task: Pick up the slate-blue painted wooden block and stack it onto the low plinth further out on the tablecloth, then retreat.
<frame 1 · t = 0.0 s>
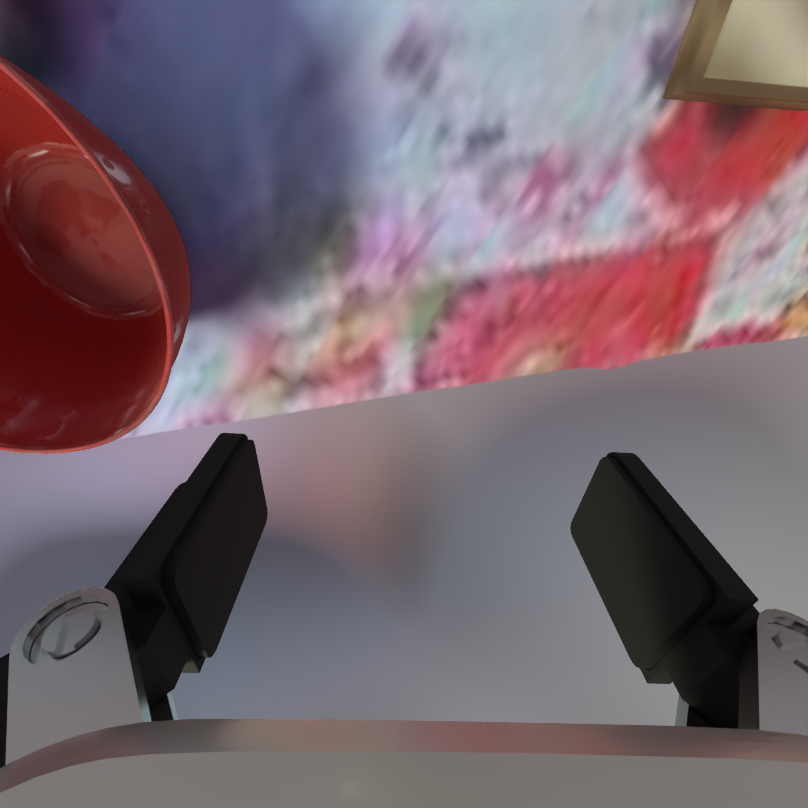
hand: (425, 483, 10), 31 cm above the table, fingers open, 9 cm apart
mixing bowl: (102, 239, 35), on the table
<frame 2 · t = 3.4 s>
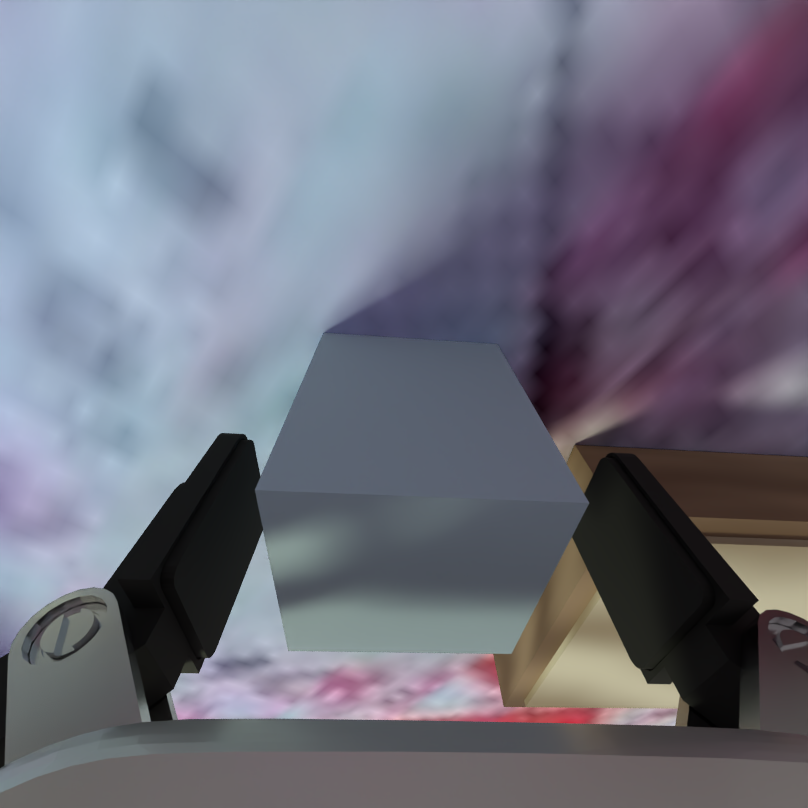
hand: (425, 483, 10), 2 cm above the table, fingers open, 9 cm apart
block: (404, 409, 12), on the table
plinth: (649, 569, 17), on the table
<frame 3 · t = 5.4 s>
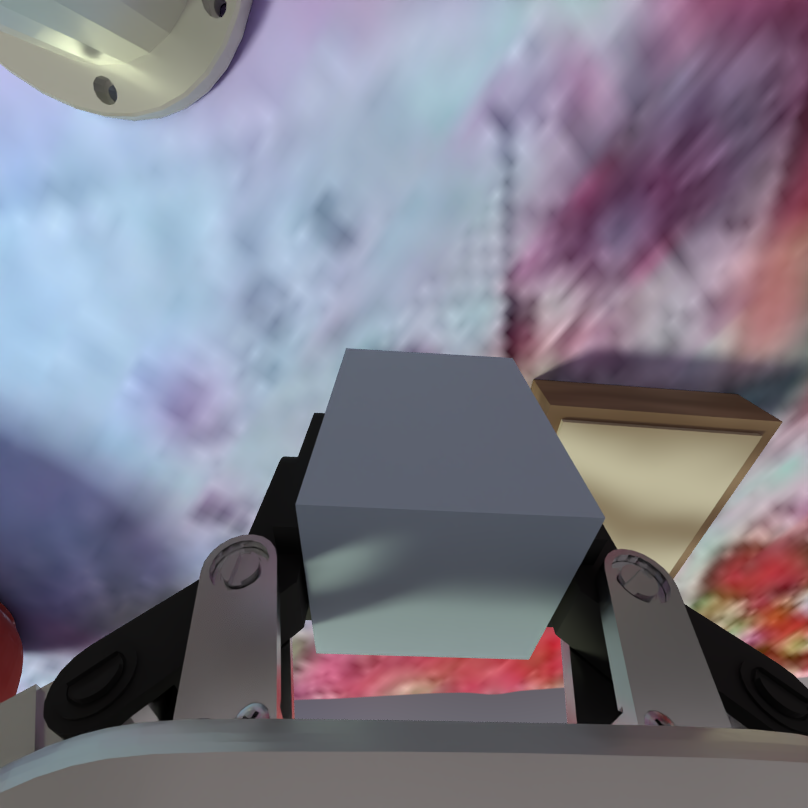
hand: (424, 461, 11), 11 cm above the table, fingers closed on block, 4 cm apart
block: (422, 421, 12), point 9 cm above the table, touching gripper
plinth: (596, 478, 25), on the table
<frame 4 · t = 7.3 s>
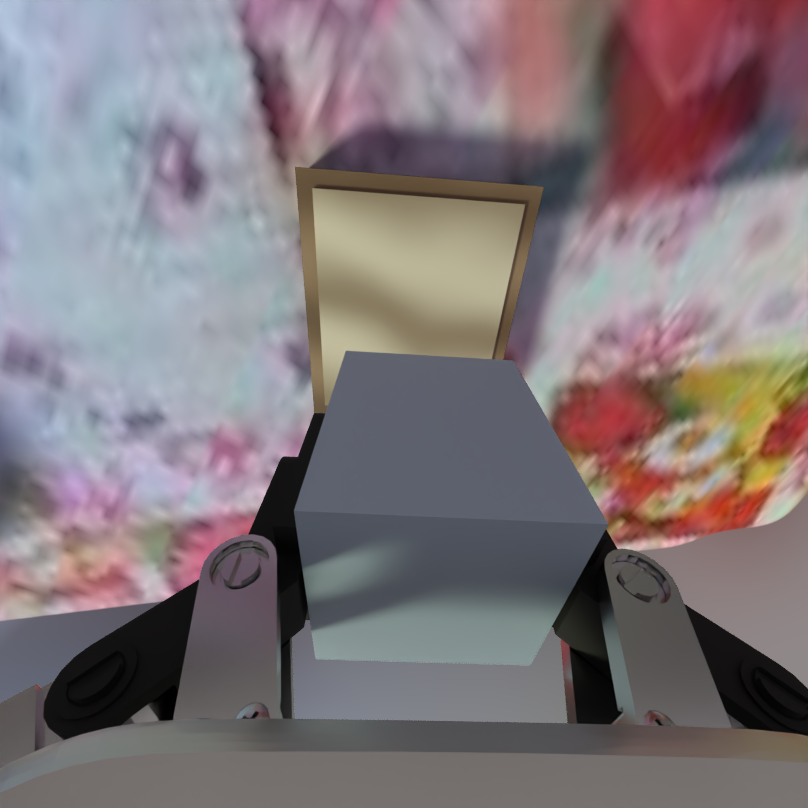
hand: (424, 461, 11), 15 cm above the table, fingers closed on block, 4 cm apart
block: (422, 423, 12), point 14 cm above the table, touching gripper
plinth: (409, 302, 24), on the table
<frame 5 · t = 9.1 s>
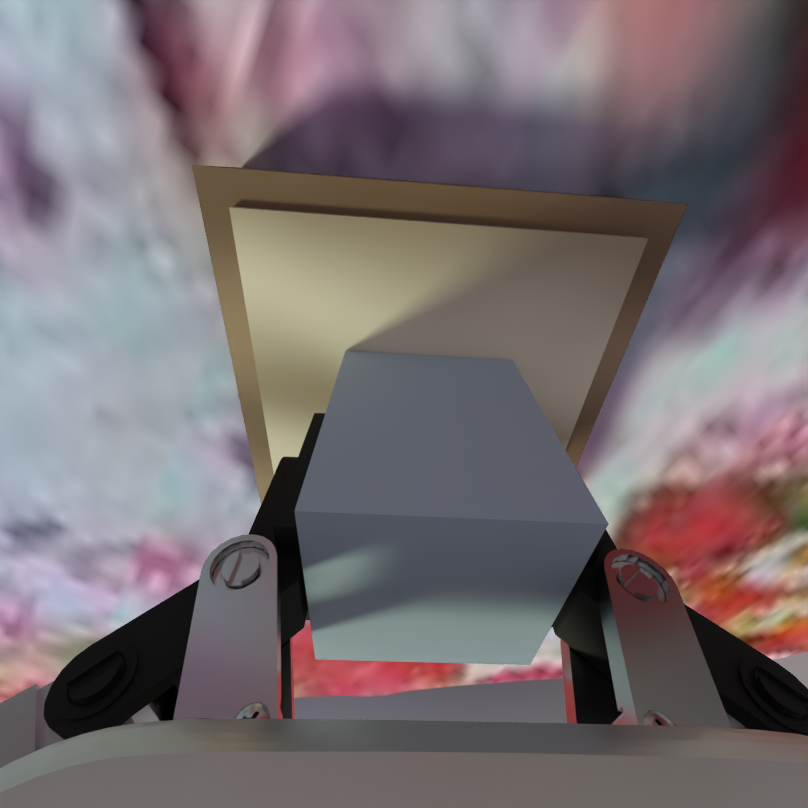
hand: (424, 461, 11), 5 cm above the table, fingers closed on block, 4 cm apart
block: (422, 423, 12), point 3 cm above the table, touching gripper, plinth
plinth: (417, 381, 15), on the table
when the fingers open (5 cm above the table, at t = 9.8 s): block stays where it is, resting on plinth.
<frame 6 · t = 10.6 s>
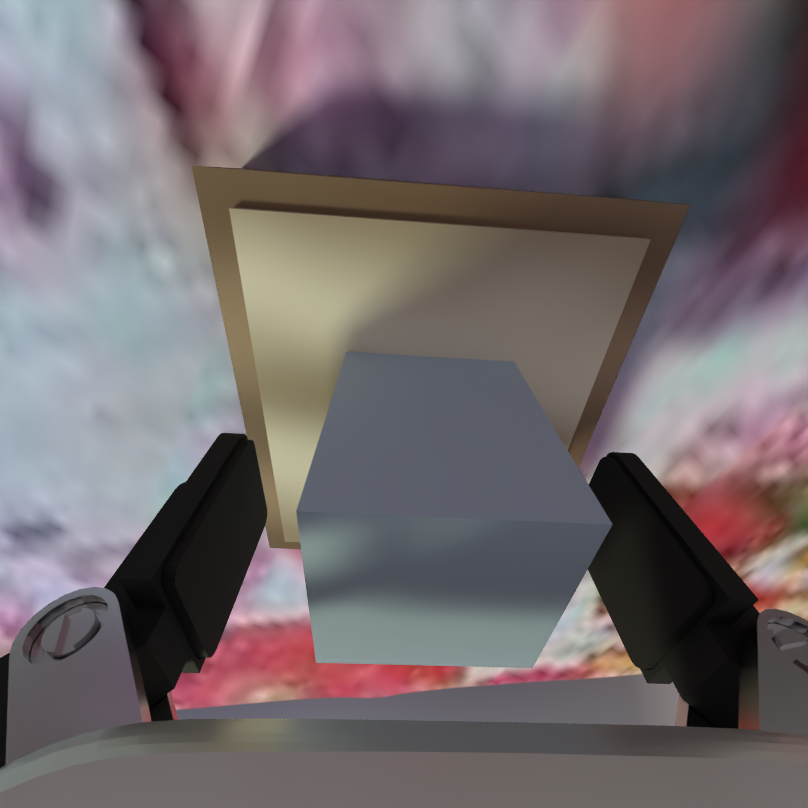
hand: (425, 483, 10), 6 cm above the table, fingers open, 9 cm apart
block: (422, 425, 12), point 3 cm above the table, touching plinth
plinth: (417, 382, 15), on the table
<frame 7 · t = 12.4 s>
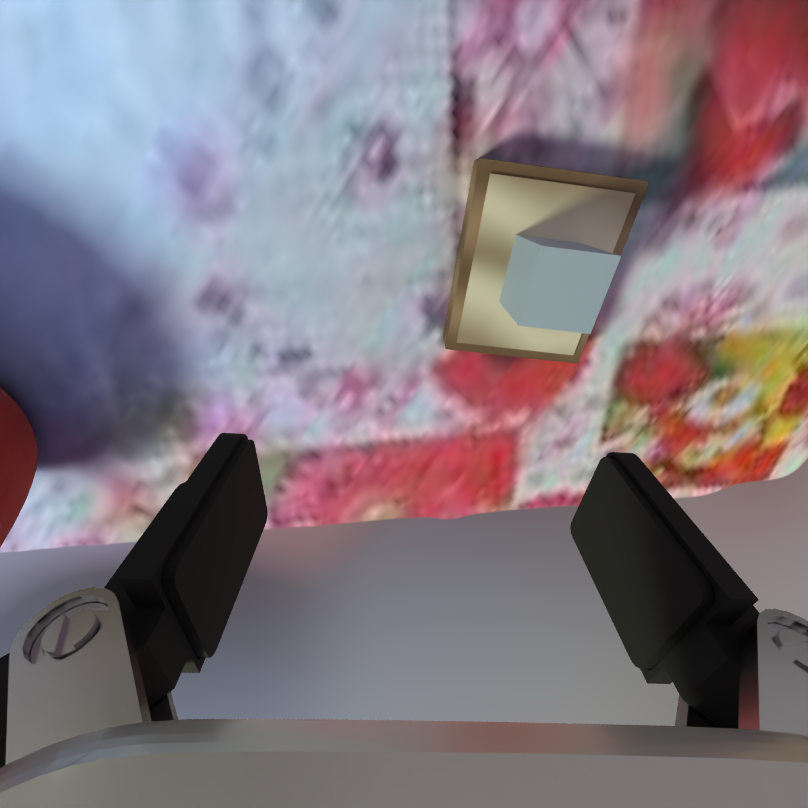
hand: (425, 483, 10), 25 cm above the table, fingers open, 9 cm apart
block: (538, 273, 28), point 3 cm above the table, touching plinth
plinth: (525, 267, 31), on the table
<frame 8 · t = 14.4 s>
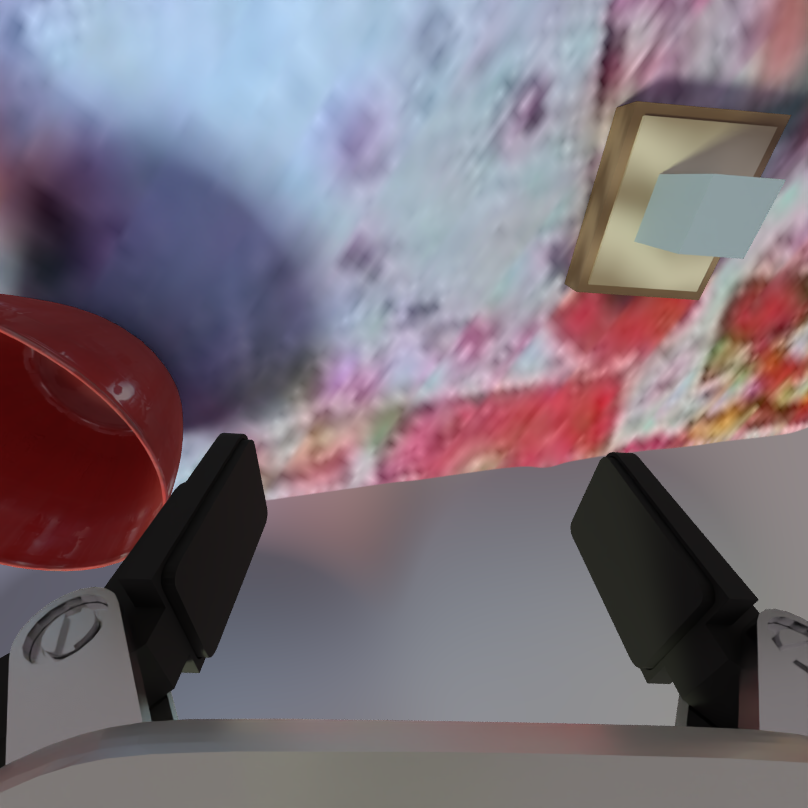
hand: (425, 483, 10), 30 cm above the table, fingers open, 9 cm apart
mixing bowl: (109, 376, 42), on the table
block: (674, 211, 31), point 3 cm above the table, touching plinth
plinth: (651, 210, 33), on the table
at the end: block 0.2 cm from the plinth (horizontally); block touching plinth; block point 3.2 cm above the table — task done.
